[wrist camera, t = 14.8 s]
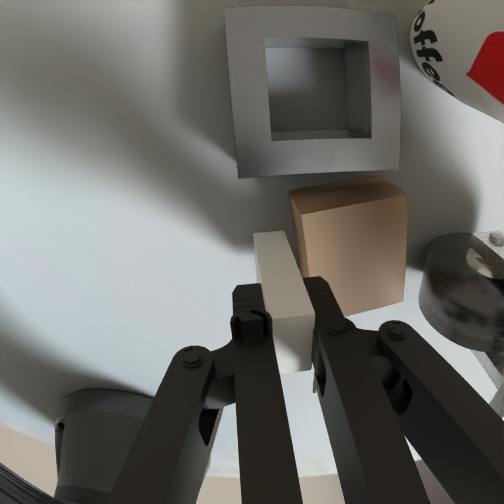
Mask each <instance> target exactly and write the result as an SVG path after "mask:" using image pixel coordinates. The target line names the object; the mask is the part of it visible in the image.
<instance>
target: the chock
mask: <svg viewBox="0 0 504 504" xmlns="http://www.w3.org/2000/svg"><path fill="white" fill-rule="evenodd" d="M288 194H289V201H290V207H291V213H292V219H293V226H294V232H295V239H296V246H297V253H298V259H299V266H300V274H301V277H302V278H305V277H315V276H321V277H322V278H323V279H325V280H326V281H327V282H328V283H329V286H330V288H331V291H332V292H333V294H334V297H335V298H336V300H337V302H338V305H339V307H340V309H341V311H342V313H343V315H344V317H345V316H349V315H353V314H357V313H361V312H365V311H369V310H373V309H376V308H380V307H384V306H387V305H391V304H395V303H398V302H402V301H403V295H404V283H405V269H406V251H407V194H405V193H404V192H402V191H401V190H399V189H398V188H396V187H395V186H393V185H392V184H390V183H389V182H387V181H386V180H384V179H383V178H381V177H380V176H373V177H366V178H360V179H354V180H348V181H342V182H336V183H331V184H325V185H319V186H314V187H308V188H303V189H298V190H292V191H288Z"/></svg>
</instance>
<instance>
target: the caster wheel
mask: <svg viewBox="0 0 504 504" xmlns="http://www.w3.org/2000/svg"><path fill="white" fill-rule="evenodd" d="M418 299H419V306H420V309H421V311H422V313H423V315H424V317H425V318H426V320H427V321H428V322H429V323H430V325H431V326H432V327H433V328H434V329H435V330H436V331H438V332H439V333H440V334H441V335H443V336H444V337H446V338H447V339H449V340H450V341H452V342H454V343H456V344H458V345H460V346H463V347H465V348H468V349H471V351H472V352H473V354H474V355H475V356H476V358H477V359H478V361H479V362H480V364H481V365H482V367H483V368H484V370H485V371H486V372H487V374H488V375H489V377H490V378H491V380H492V382H493V383H494V385H495V386H496V388H497V389H498V391H497V393H496V394H495V396H494V397H493V399H492V400H491V402H490V403H489V405H490V406H491V407H492V409H493V410H494V411H495V412H496V413H497V414H498V415H499V416H500V417H501V418H502V419H503V420H504V234H503V233H502V232H500V231H492V232H482V233H473V234H469V233H455V234H448V235H444V236H441V237H439V238H437V239H435V240H434V241H433V242H432V243H431V244H430V246H429V249H428V253H427V259H426V264H425V269H424V273H423V278H422V282H421V287H420V291H419V297H418Z"/></svg>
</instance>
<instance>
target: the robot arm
mask: <svg viewBox="0 0 504 504" xmlns="http://www.w3.org/2000/svg"><path fill="white" fill-rule="evenodd" d="M253 234H254V248H255V261H256V275H257V283H255V284H245V285H237V286H236V288H235V289H234V291H233V292H232V299H233V316H232V317H231V321H230V325H231V332H232V340H231V341H230V342H229V343H228V344H227V345H225V346H224V347H222V348H220V349H217V350H214V351H211V352H210V351H209V350H208V349H207V348H205V347H202V346H189V347H185V348H183V349H181V350H180V351H178V352H177V353H176V354H175V356H174V357H173V359H172V361H171V363H170V365H169V367H168V369H167V371H166V374H165V376H164V378H163V380H162V382H161V384H160V386H159V388H158V391H157V393H156V395H155V397H154V399H150V398H147V397H144V396H140V395H136V394H132V393H127V392H122V391H116V390H105V389H90V390H82V391H78V392H75V393H72V394H70V395H69V396H67V397H66V398H65V399H64V400H63V402H62V404H61V406H60V409H59V412H58V415H57V417H56V421H55V448H56V464H57V476H58V481H57V486H56V491H55V495H54V498H53V497H51V496H50V495H48V494H46V493H45V492H43V491H41V490H40V489H38V488H37V487H35V486H33V485H32V484H30V483H29V482H27V481H25V480H24V479H23V478H21V477H19V476H18V475H17V474H15V473H14V472H12V471H11V470H9V469H8V468H7V467H5V466H4V465H2V464H1V463H0V504H196V501H197V497H198V494H199V491H200V488H201V485H202V483H203V480H204V478H205V475H206V473H207V471H208V468H209V465H210V457H211V450H212V446H213V443H214V440H215V436H216V433H217V429H218V426H219V422H220V419H221V415H222V412H223V407H224V406H227V405H230V404H233V403H235V402H236V417H237V435H238V452H239V468H240V482H241V497H242V504H303V501H302V496H301V490H300V484H299V479H298V473H297V467H296V462H295V456H294V451H293V445H292V439H291V434H290V428H289V423H288V417H287V412H286V406H285V401H284V395H283V390H282V384H281V379H280V374H283V373H291V372H299V371H306V370H311V368H312V363H313V366H314V370H315V372H314V382H313V393H316V390H317V393H318V397H319V401H320V405H321V409H322V412H323V416H324V420H325V424H326V428H327V432H328V435H329V439H330V443H331V447H332V451H333V455H334V459H335V463H336V467H337V471H338V475H339V479H340V483H341V488H342V491H343V496H344V500H345V504H431V503H430V501H429V499H428V496H427V494H426V491H425V488H424V485H423V482H422V480H421V477H420V475H419V472H418V469H417V467H416V464H415V461H414V459H413V456H412V454H411V451H410V449H409V446H408V444H407V441H406V439H405V437H406V438H407V439H408V441H409V442H410V443H411V445H412V446H413V447H414V449H415V450H416V451H417V453H418V454H419V455H420V457H421V458H422V459H423V461H424V462H425V463H426V465H427V466H428V467H429V469H430V470H431V472H432V473H433V474H434V475H435V477H436V478H437V480H438V481H439V482H440V483H441V485H442V486H443V488H444V489H445V490H446V492H447V493H448V494H449V496H450V497H451V498H452V500H453V501H454V503H455V504H504V420H503V419H502V418H501V417H500V416H499V415H498V414H497V413H496V412H495V411H494V410H493V409H492V407H491V406H490V405H489V404H488V403H487V402H486V401H485V400H484V399H483V398H482V397H481V396H480V395H479V394H478V393H477V392H476V391H475V390H474V389H473V387H472V386H471V385H470V384H469V383H468V382H467V381H466V380H465V379H464V378H463V377H462V376H461V375H460V374H459V373H458V372H457V371H456V370H455V369H454V368H453V367H452V366H451V365H450V364H449V363H448V362H447V361H446V360H445V359H444V358H443V357H442V356H441V355H440V354H439V353H438V352H437V351H436V350H435V349H434V348H433V347H432V346H431V345H430V344H429V343H428V342H427V341H426V340H425V339H424V338H423V337H421V336H420V335H419V334H418V333H417V332H416V331H415V330H414V329H413V328H412V327H411V326H410V325H408V324H407V323H405V322H402V321H396V320H391V321H387V322H385V323H383V324H382V325H381V326H380V328H379V331H373V330H363V329H359V328H356V326H355V325H354V323H353V322H352V321H350V320H349V319H347V318H345V317H344V315H343V313H342V311H341V309H340V307H339V305H338V302H337V300H336V298H335V297H334V294H333V292H332V291H331V288H330V286H329V283H328V282H327V281H326V280H325V279H323V278H322V277H321V276H315V277H305V278H302V277H301V274H300V271H299V269H298V266H297V263H296V261H295V258H294V255H293V253H292V250H291V248H290V245H289V242H288V240H287V237H286V235H285V232H284V230H283V231H271V232H260V233H253ZM404 435H405V436H404Z"/></svg>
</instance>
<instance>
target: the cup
mask: <svg viewBox="0 0 504 504" xmlns="http://www.w3.org/2000/svg"><path fill="white" fill-rule="evenodd" d="M410 44H411V49H412V53H413V56H414V58H415V61H416V63H417V65H418V66H419V68H420V70H421V71H422V72H423V74H424V75H425V76H426V77H427V78H428V79H429V80H430V81H431V82H432V83H434V84H435V85H436V86H438V87H440V88H441V89H443V90H444V91H446V92H447V93H449V94H450V95H452V96H453V97H455V98H456V99H458V100H459V101H461V102H462V103H464V104H466V105H468V106H470V107H472V108H474V109H476V110H479V111H481V112H483V113H485V114H487V115H489V116H491V117H493V118H495V119H497V120H499V121H500V122H502V123H504V0H429V1H428V3H427V4H426V5H425V6H424V7H423V9H422V10H421V11H420V12H419V14H418V15H417V16H416V17H415V19H414V21H413V23H412V26H411V30H410Z"/></svg>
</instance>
